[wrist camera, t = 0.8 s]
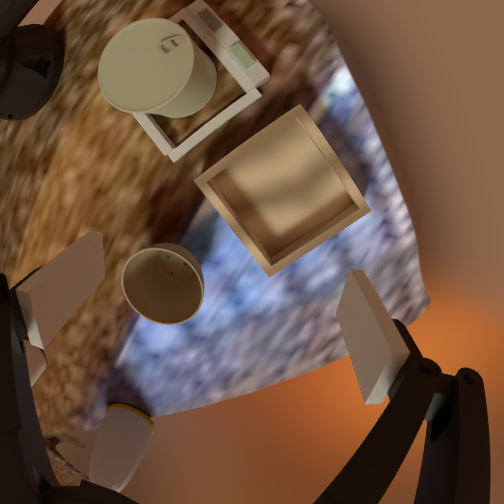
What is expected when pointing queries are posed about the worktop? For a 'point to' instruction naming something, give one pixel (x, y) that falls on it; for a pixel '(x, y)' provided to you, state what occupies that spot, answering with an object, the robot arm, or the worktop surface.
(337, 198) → the open box
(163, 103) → the can
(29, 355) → the pill bottle
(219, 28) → the white square frame
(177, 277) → the flower pot
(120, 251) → the worktop surface
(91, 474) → the soap bottle
